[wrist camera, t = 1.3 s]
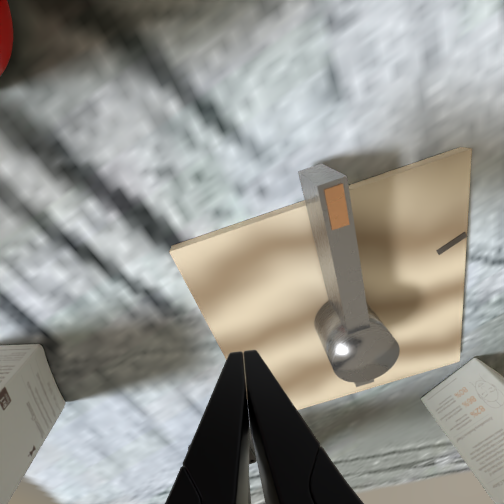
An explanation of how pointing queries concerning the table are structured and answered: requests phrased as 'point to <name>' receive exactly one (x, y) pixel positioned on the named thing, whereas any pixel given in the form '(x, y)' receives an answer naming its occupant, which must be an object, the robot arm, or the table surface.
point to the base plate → (312, 283)
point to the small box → (474, 421)
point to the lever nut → (344, 283)
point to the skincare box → (24, 411)
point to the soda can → (5, 35)
